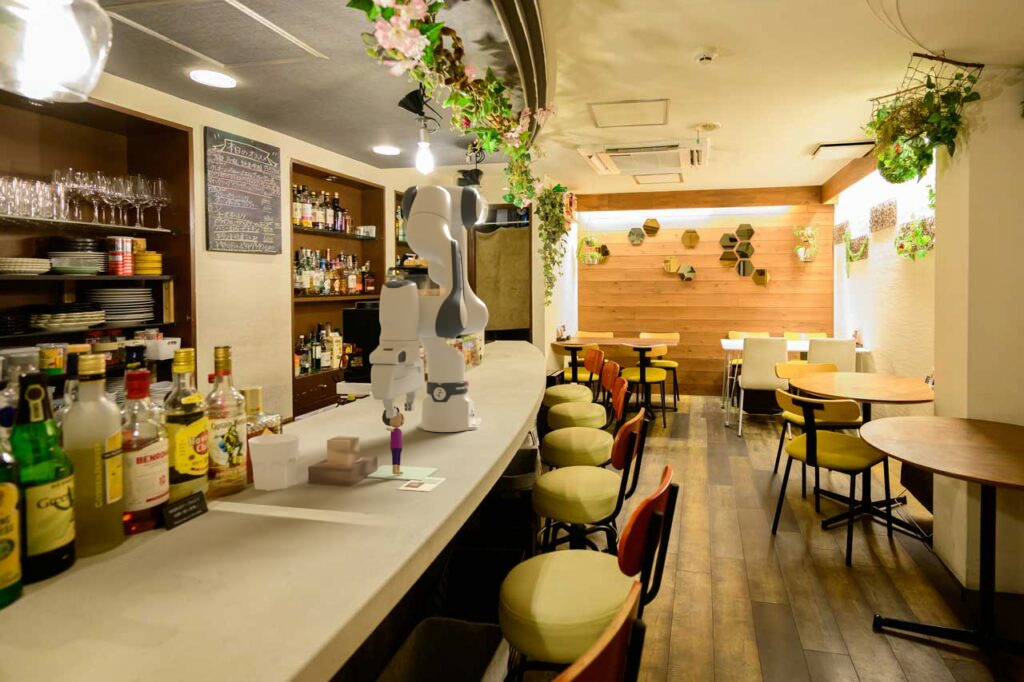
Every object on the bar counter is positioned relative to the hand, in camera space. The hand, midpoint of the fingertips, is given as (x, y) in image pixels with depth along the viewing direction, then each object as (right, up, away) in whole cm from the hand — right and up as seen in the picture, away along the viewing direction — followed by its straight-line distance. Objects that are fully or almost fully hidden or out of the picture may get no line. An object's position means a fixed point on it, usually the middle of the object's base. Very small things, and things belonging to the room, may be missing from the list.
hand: (400, 414), depth 137 cm
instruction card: (+6, -14, -9) cm, 17 cm away
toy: (-1, -13, -3) cm, 14 cm away
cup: (-25, -14, -9) cm, 30 cm away
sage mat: (0, -13, 0) cm, 13 cm away
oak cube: (-12, -10, -3) cm, 16 cm away
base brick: (-12, -14, -3) cm, 18 cm away
